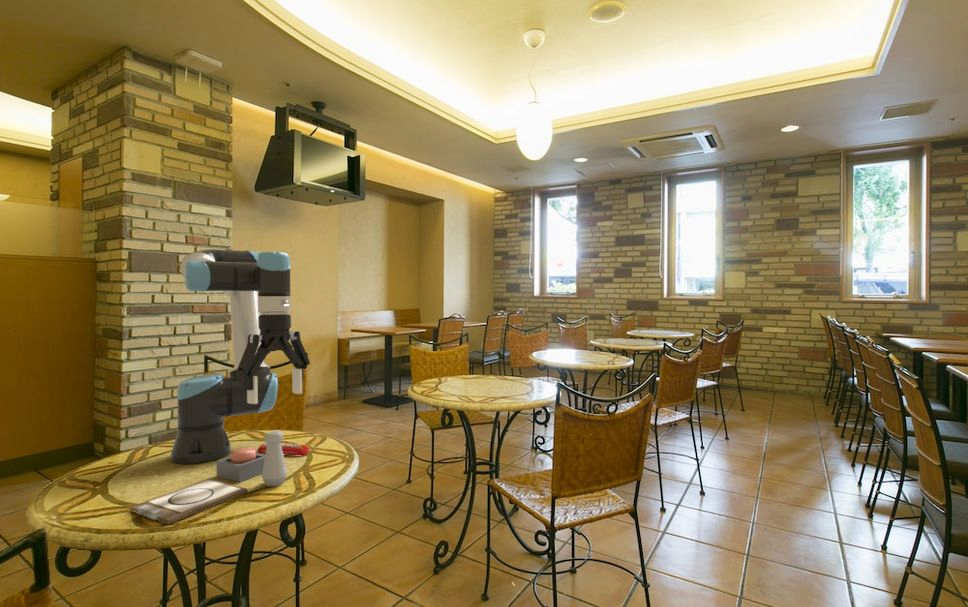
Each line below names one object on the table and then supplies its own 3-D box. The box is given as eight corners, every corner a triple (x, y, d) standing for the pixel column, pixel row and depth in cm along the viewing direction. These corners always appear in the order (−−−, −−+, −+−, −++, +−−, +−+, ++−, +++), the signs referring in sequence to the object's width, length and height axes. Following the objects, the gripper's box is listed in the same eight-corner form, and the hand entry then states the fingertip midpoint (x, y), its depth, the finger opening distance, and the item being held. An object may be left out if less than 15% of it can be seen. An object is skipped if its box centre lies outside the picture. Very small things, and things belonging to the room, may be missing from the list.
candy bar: (254, 454, 143) (254, 444, 143) (262, 451, 147) (262, 441, 147) (304, 457, 141) (304, 447, 141) (311, 453, 144) (311, 443, 144)
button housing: (216, 476, 126) (216, 461, 126) (247, 465, 134) (247, 451, 134) (239, 482, 122) (239, 466, 122) (269, 470, 130) (269, 455, 130)
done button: (225, 463, 126) (225, 452, 126) (246, 457, 132) (246, 446, 132) (240, 467, 124) (240, 455, 123) (261, 460, 129) (261, 449, 129)
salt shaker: (292, 480, 123) (291, 429, 122) (275, 489, 117) (275, 436, 117) (273, 477, 125) (273, 427, 124) (256, 486, 119) (256, 433, 119)
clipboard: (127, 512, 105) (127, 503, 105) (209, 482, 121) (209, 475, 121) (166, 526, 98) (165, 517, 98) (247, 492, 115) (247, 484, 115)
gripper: (240, 315, 108) (242, 409, 108) (322, 312, 131) (323, 390, 131) (218, 315, 112) (220, 406, 112) (302, 312, 134) (303, 388, 134)
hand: (276, 398), depth 121 cm, fingers open, 13 cm apart
